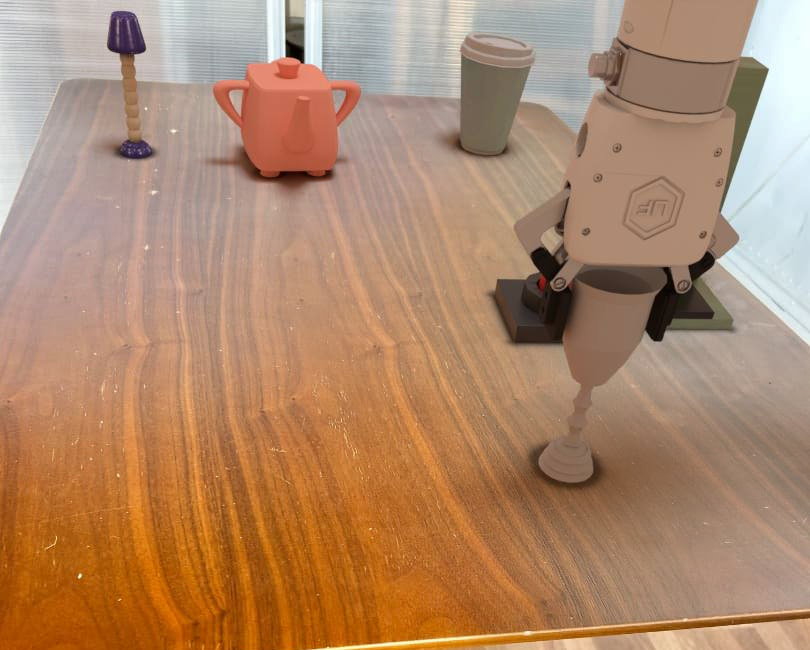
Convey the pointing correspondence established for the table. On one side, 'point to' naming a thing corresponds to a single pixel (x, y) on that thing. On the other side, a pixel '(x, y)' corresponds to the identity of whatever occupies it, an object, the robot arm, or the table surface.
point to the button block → (522, 309)
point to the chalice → (599, 348)
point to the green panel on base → (723, 199)
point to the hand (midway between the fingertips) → (601, 330)
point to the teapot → (288, 115)
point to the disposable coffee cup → (491, 89)
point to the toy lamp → (129, 77)
